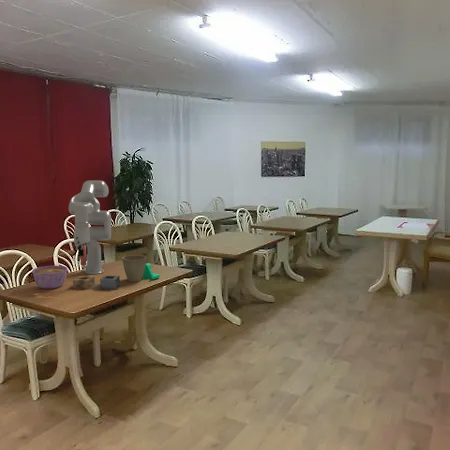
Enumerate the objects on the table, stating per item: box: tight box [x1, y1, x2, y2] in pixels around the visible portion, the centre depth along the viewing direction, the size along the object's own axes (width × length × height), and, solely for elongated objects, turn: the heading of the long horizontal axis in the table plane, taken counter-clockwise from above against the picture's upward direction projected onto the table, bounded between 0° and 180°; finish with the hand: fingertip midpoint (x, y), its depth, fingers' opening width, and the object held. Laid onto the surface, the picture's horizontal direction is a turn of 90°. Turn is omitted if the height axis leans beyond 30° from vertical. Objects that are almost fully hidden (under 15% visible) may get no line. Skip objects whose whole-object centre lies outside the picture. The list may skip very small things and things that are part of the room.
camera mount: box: [142, 262, 161, 280], centre depth 306 cm, size 12×8×10 cm, turn 56°
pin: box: [79, 244, 87, 266], centre depth 279 cm, size 3×3×12 cm
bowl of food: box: [31, 265, 68, 290], centre depth 281 cm, size 20×20×12 cm
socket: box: [99, 274, 121, 289], centre depth 280 cm, size 9×9×6 cm
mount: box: [72, 275, 96, 290], centre depth 281 cm, size 10×9×5 cm
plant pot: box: [122, 254, 147, 283], centre depth 296 cm, size 15×15×16 cm
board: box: [70, 283, 123, 291], centre depth 281 cm, size 28×12×1 cm, turn 86°
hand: (83, 254), depth 279 cm, fingers closed on pin, 3 cm apart
